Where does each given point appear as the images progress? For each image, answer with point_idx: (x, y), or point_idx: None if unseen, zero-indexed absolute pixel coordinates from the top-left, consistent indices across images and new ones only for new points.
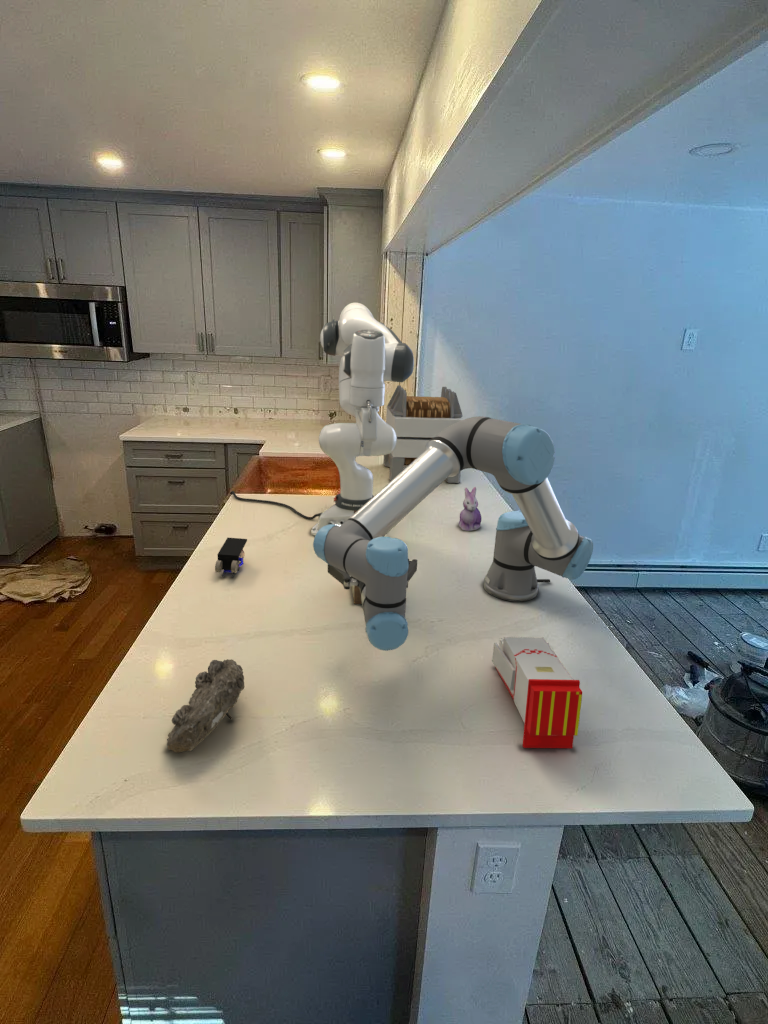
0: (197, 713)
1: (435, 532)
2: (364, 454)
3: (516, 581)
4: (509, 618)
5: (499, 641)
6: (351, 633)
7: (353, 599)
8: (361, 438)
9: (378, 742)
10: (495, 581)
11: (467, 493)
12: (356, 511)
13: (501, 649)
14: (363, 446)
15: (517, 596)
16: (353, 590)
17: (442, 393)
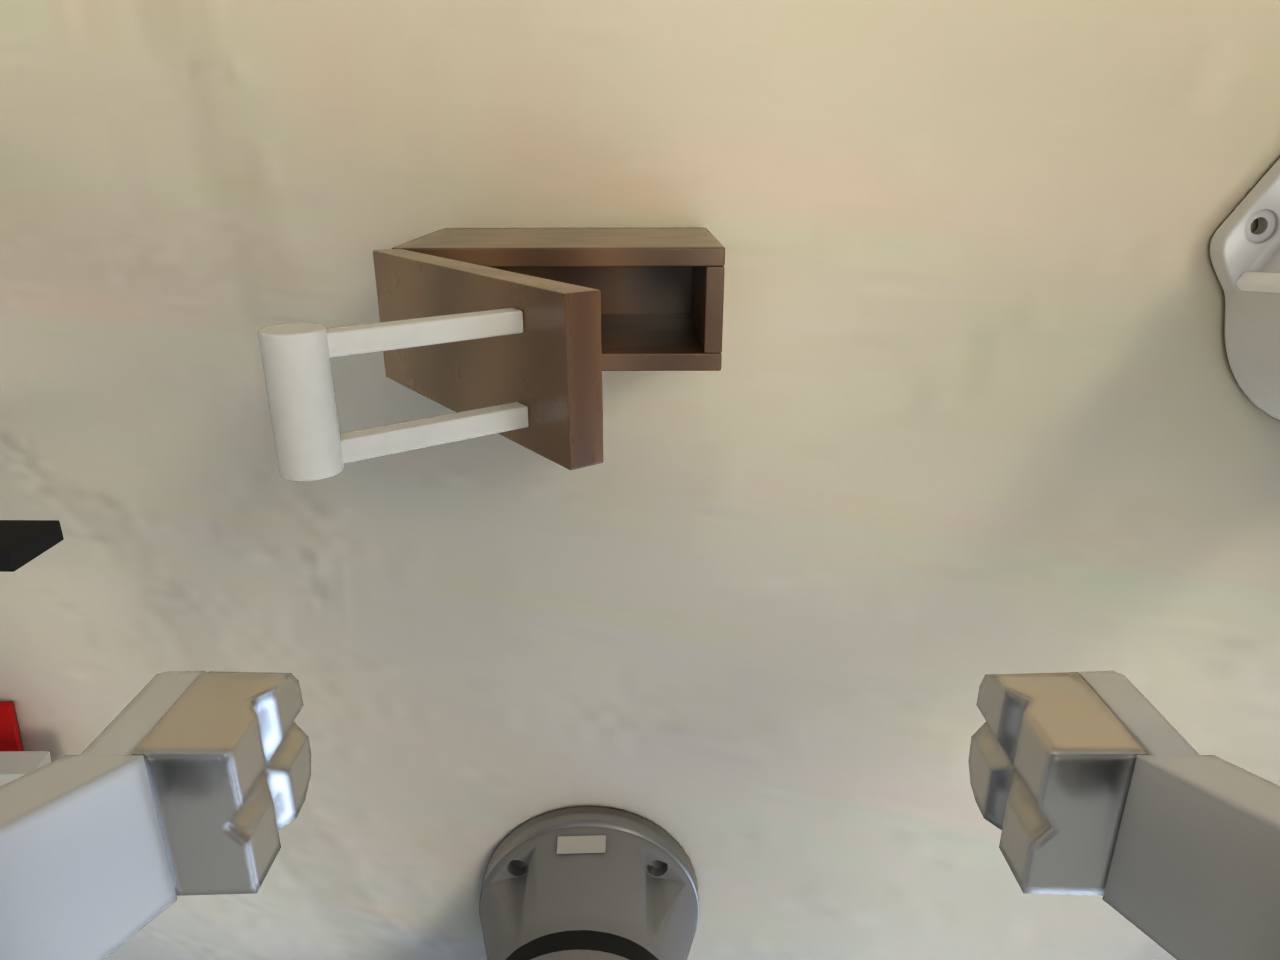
0: None
1: (1248, 739)
2: (157, 689)
3: (487, 947)
4: (358, 827)
5: (37, 765)
6: (172, 196)
7: (478, 228)
8: (1170, 801)
9: None
10: (532, 871)
11: None
12: (562, 316)
13: (3, 756)
14: (988, 720)
15: (480, 902)
16: (487, 232)
17: None
